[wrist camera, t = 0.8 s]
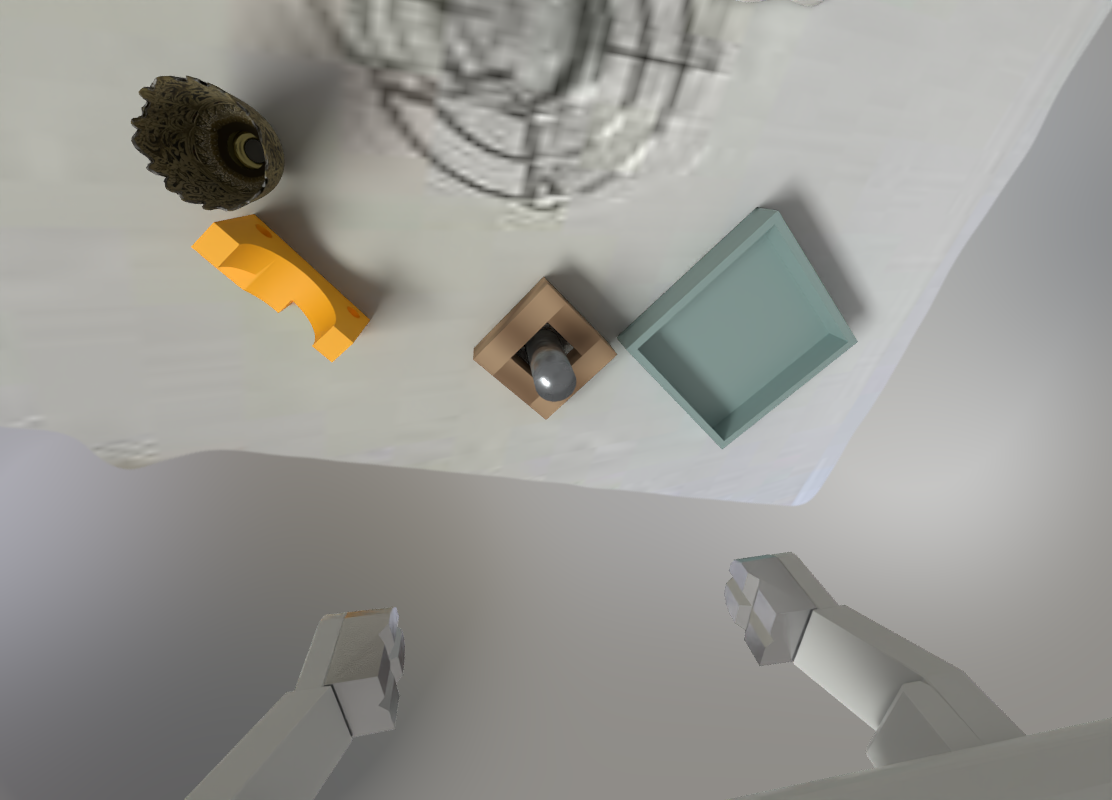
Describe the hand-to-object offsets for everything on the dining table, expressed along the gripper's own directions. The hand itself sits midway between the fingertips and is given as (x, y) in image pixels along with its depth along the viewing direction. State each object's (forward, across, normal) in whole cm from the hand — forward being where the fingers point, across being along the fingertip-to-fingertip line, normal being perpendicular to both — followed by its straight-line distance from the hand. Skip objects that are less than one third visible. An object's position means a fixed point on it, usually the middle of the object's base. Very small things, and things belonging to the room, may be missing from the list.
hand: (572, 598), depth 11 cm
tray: (+36, -24, +6) cm, 44 cm away
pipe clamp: (+36, +18, 0) cm, 41 cm away
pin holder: (+36, -4, +7) cm, 37 cm away
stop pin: (+36, -4, +7) cm, 37 cm away
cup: (+36, +18, -11) cm, 42 cm away
